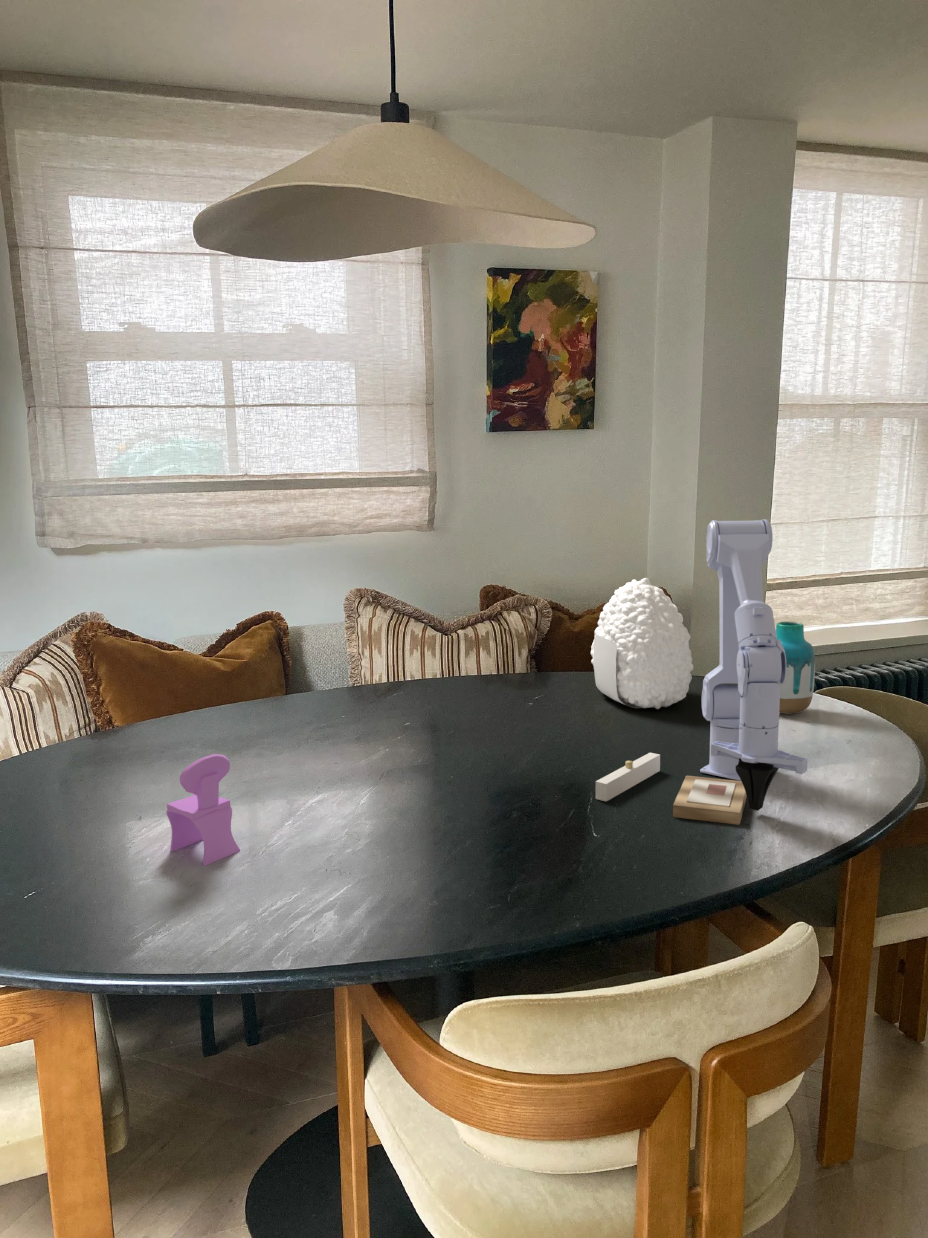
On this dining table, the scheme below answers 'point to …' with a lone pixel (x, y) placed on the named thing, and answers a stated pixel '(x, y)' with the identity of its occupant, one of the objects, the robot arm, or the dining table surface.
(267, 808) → the dining table surface
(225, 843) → the toy chair
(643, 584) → the rice ball
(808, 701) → the vase
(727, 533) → the robot arm
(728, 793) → the frame
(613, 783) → the rail
